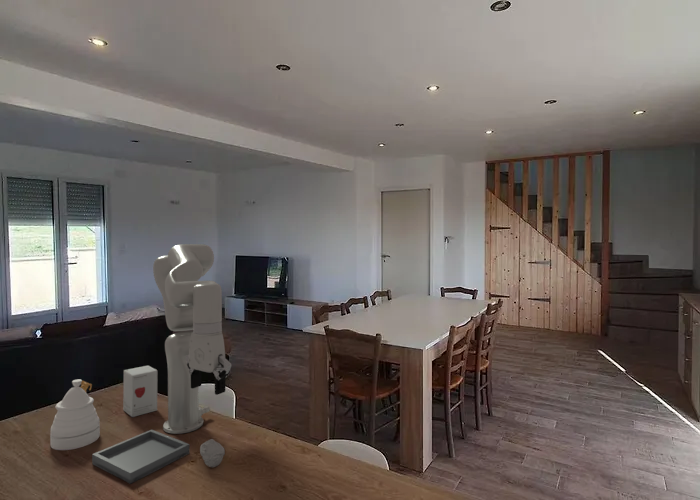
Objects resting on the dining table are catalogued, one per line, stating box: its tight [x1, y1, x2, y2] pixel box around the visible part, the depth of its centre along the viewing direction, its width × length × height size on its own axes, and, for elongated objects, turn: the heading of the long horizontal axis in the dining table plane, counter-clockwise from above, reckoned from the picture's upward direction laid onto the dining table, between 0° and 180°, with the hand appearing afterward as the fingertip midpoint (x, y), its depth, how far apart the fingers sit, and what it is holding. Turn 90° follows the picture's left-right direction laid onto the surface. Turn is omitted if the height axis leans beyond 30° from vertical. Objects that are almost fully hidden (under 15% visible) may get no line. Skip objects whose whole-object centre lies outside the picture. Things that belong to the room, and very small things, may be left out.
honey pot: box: [49, 378, 101, 451], centre depth 131 cm, size 13×13×18 cm
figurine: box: [79, 380, 93, 393], centre depth 150 cm, size 8×6×12 cm
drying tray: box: [91, 429, 190, 485], centre depth 120 cm, size 18×18×3 cm
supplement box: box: [122, 365, 158, 418], centre depth 154 cm, size 9×9×15 cm
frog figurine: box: [199, 438, 226, 468], centre depth 117 cm, size 6×7×7 cm
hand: (207, 390), depth 116 cm, fingers open, 9 cm apart
